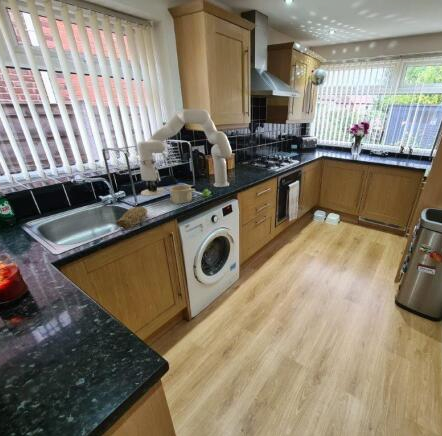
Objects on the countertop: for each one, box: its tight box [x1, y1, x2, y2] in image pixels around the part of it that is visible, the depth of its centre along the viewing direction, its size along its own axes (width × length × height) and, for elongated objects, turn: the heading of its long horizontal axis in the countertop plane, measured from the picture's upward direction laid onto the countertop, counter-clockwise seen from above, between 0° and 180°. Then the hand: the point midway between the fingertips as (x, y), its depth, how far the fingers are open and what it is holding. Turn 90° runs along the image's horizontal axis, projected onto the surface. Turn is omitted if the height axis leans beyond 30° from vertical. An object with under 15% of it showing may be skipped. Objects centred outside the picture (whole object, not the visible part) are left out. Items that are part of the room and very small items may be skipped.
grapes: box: [201, 188, 212, 198], centre depth 171 cm, size 10×5×5 cm, turn 173°
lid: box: [140, 182, 166, 197], centre depth 157 cm, size 15×15×6 cm
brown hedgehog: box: [115, 206, 148, 230], centre depth 132 cm, size 13×8×20 cm
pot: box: [165, 184, 196, 204], centre depth 163 cm, size 14×19×8 cm
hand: (152, 190), depth 158 cm, fingers closed on lid, 2 cm apart
